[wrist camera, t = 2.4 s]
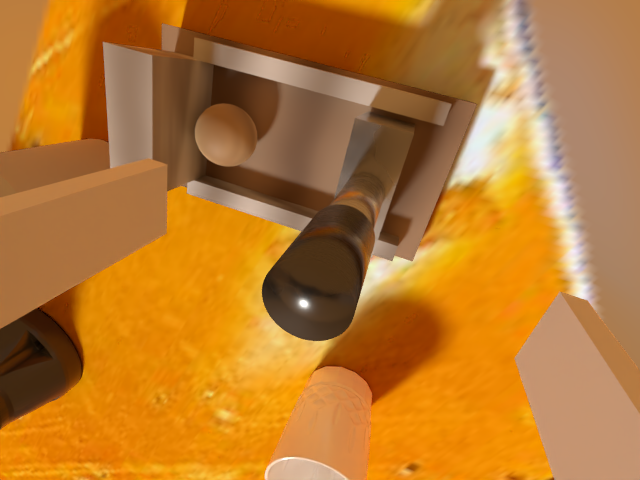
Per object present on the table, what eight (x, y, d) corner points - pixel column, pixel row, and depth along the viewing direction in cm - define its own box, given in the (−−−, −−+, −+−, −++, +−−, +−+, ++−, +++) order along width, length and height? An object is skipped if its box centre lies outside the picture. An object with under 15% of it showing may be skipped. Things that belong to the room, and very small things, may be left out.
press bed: (175, 173, 30) (99, 200, 23) (180, 27, 25) (84, 4, 18) (412, 249, 27) (410, 308, 20) (472, 102, 22) (497, 110, 15)
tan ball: (213, 151, 26) (180, 162, 22) (218, 95, 24) (182, 97, 20) (262, 167, 25) (236, 180, 22) (270, 110, 23) (244, 114, 20)
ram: (340, 214, 25) (240, 373, 11) (368, 111, 21) (277, 155, 8) (380, 227, 24) (328, 408, 11) (415, 124, 21) (406, 194, 7)
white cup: (322, 347, 33) (287, 441, 24) (393, 388, 33) (384, 499, 24) (291, 392, 37) (250, 488, 28) (354, 430, 37) (334, 538, 28)
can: (99, 118, 29) (-81, 136, 19) (162, 184, 30) (25, 236, 20) (67, 173, 33) (-100, 215, 22) (125, 231, 34) (-9, 297, 23)
